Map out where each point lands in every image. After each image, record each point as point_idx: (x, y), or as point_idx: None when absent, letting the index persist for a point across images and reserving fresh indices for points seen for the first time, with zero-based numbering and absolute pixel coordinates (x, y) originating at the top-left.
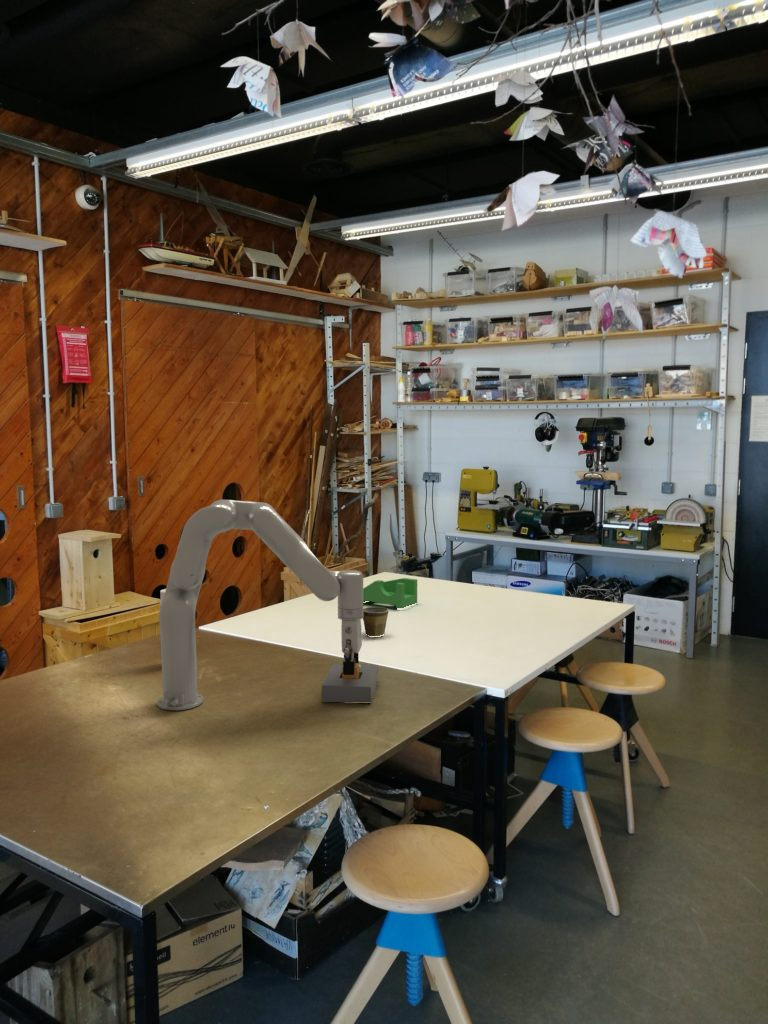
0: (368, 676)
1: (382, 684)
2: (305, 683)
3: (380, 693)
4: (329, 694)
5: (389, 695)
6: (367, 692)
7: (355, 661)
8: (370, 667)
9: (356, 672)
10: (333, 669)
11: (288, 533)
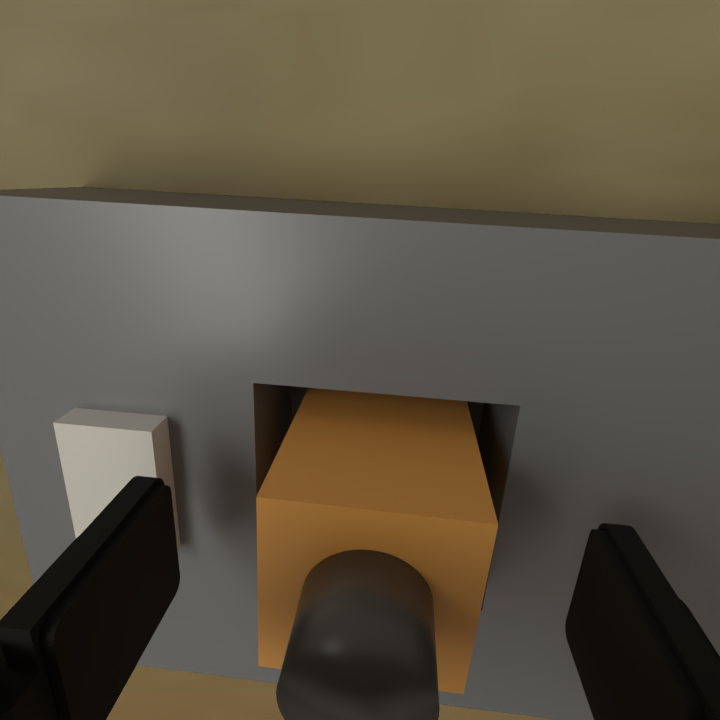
0: (431, 304)
1: (164, 132)
2: (234, 686)
3: (437, 140)
4: None
5: (505, 26)
6: None
7: (148, 537)
8: (51, 292)
9: (483, 485)
10: (207, 651)
11: None
